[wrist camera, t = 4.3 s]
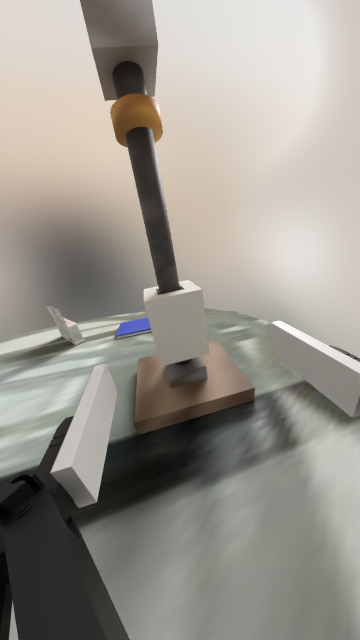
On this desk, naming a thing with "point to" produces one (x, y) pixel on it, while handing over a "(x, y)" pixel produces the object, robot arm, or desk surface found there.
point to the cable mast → (154, 211)
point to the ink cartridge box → (66, 327)
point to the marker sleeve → (177, 322)
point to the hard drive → (133, 328)
